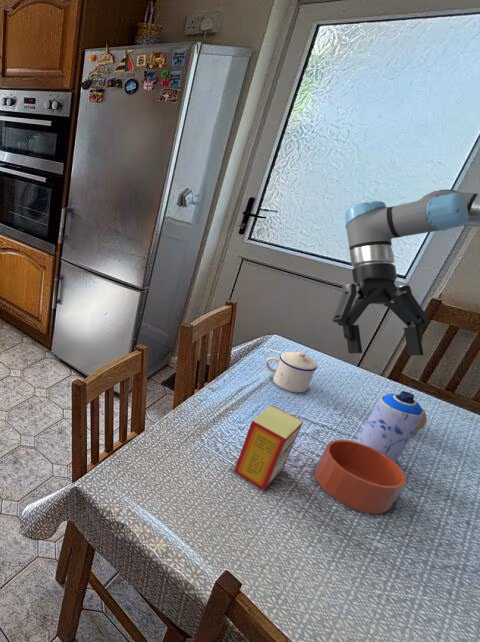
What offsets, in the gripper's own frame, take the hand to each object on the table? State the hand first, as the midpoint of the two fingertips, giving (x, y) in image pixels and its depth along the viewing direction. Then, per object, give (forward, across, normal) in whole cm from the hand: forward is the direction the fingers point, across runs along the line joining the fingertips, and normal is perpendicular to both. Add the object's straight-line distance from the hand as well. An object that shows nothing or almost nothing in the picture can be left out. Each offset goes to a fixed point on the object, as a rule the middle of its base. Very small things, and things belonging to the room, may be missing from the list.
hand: (385, 354), depth 96 cm
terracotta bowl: (+30, +9, -4) cm, 32 cm away
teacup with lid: (+8, -1, -35) cm, 36 cm away
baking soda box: (+29, +27, -7) cm, 40 cm away
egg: (+19, -20, -18) cm, 33 cm away
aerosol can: (+25, -3, -10) cm, 28 cm away
